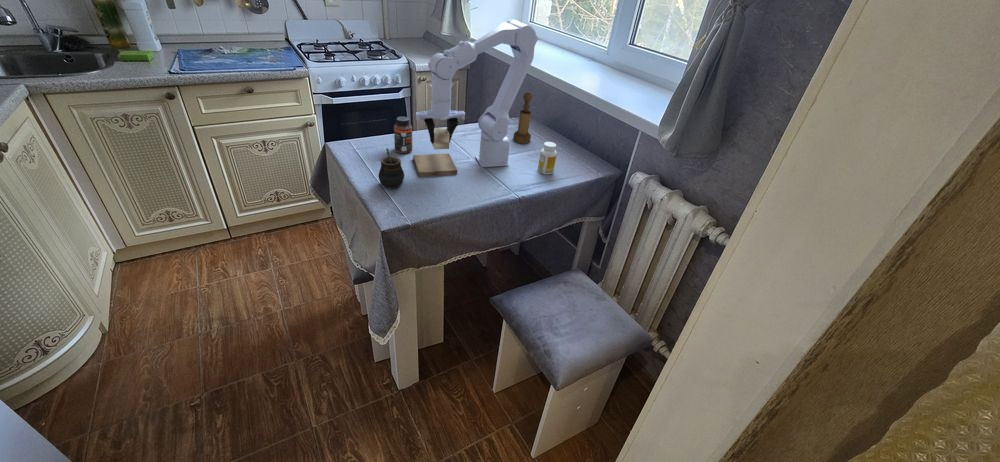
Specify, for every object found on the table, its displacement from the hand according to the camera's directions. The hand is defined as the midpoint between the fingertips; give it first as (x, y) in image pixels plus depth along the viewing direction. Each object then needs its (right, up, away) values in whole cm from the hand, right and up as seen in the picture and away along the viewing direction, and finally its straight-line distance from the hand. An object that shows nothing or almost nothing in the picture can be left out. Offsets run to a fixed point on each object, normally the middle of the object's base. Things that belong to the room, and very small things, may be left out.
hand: (440, 141), depth 133 cm
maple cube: (0, -1, +1) cm, 1 cm away
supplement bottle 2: (+34, -8, +12) cm, 37 cm away
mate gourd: (-14, -14, -5) cm, 20 cm away
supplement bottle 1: (-14, 0, +14) cm, 20 cm away
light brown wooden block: (-3, -7, +7) cm, 10 cm away
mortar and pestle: (+27, +7, +31) cm, 42 cm away
